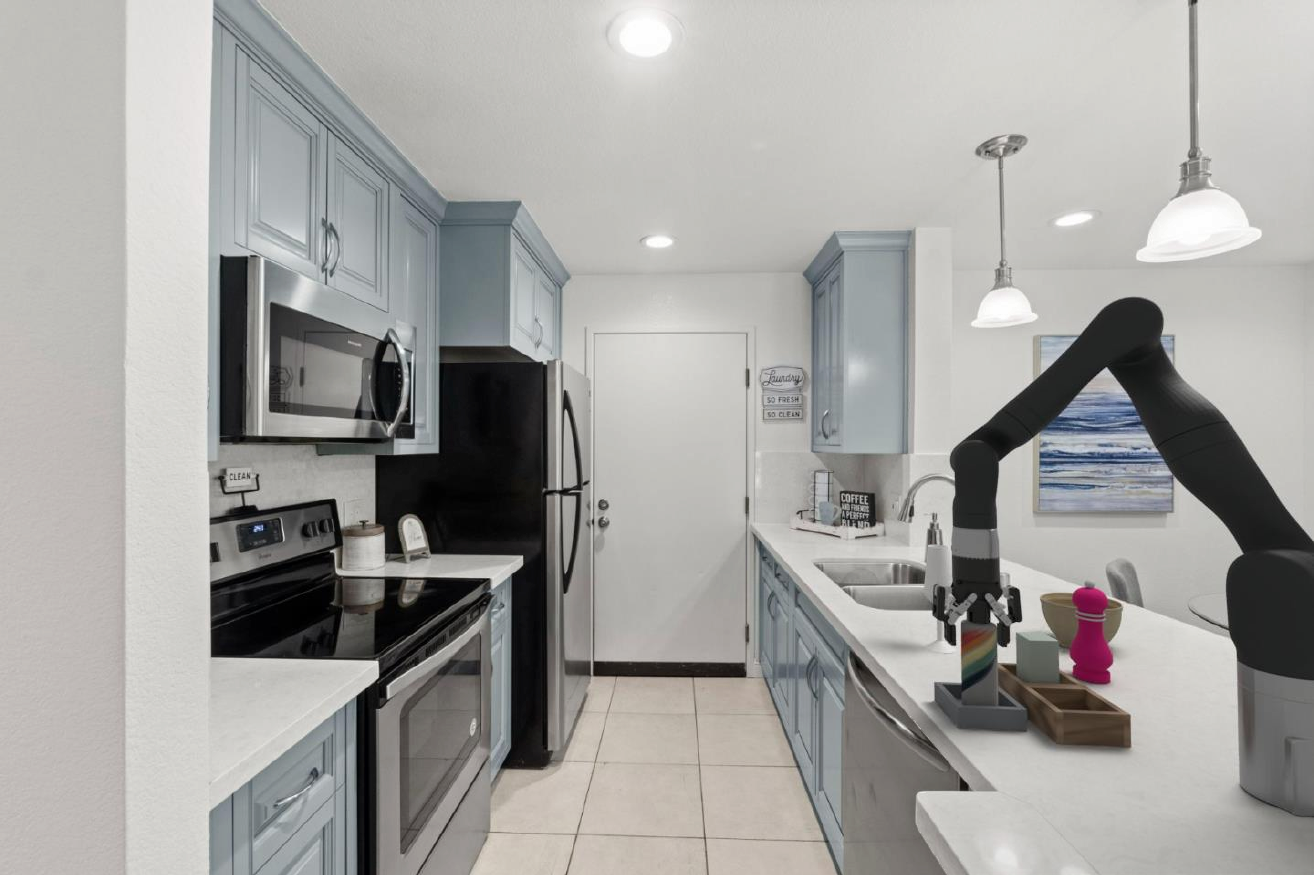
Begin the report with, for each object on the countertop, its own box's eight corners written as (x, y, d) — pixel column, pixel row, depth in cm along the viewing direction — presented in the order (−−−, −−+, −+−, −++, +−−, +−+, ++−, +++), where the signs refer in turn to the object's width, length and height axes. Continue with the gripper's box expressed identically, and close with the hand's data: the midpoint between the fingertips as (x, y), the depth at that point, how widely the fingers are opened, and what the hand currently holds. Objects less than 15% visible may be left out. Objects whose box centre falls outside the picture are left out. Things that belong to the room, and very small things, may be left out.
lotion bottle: (966, 700, 109) (964, 590, 109) (1001, 708, 105) (999, 595, 106) (958, 710, 105) (956, 596, 105) (994, 719, 101) (992, 601, 101)
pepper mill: (1121, 686, 118) (1119, 584, 118) (1080, 683, 119) (1078, 583, 119) (1101, 672, 125) (1100, 576, 125) (1063, 670, 126) (1061, 575, 127)
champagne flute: (918, 646, 141) (917, 545, 142) (935, 642, 145) (934, 543, 145) (945, 655, 136) (943, 549, 136) (962, 649, 139) (960, 546, 140)
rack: (1131, 746, 94) (1130, 714, 94) (1057, 743, 95) (1056, 711, 95) (1052, 690, 116) (1052, 664, 116) (993, 688, 117) (992, 662, 117)
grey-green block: (1059, 707, 108) (1058, 641, 108) (1030, 706, 108) (1029, 640, 109) (1044, 696, 113) (1043, 632, 113) (1016, 695, 113) (1015, 632, 114)
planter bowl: (1055, 631, 153) (1054, 588, 153) (1133, 647, 140) (1132, 601, 140) (1029, 644, 143) (1028, 598, 143) (1111, 662, 130) (1110, 613, 131)
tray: (1027, 731, 99) (1027, 709, 99) (958, 728, 100) (958, 707, 100) (996, 703, 110) (996, 683, 110) (934, 700, 111) (934, 681, 111)
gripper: (941, 556, 102) (943, 651, 102) (1028, 556, 101) (1031, 653, 100) (925, 549, 110) (927, 638, 109) (1006, 549, 108) (1008, 639, 108)
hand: (977, 645), depth 105 cm, fingers open, 8 cm apart
